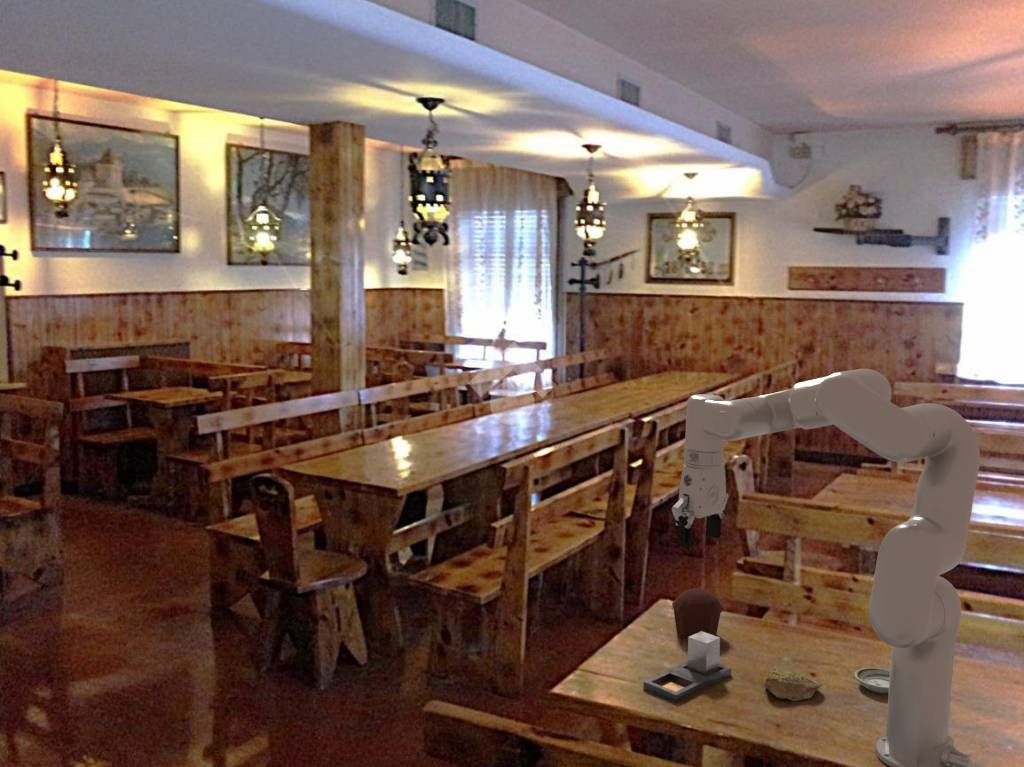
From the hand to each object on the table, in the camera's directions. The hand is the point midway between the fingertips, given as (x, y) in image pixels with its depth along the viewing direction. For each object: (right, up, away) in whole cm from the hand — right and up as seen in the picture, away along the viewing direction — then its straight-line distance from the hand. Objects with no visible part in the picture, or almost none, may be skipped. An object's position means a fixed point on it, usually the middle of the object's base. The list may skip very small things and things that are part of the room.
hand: (698, 541), depth 191 cm
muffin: (+4, -25, +24) cm, 35 cm away
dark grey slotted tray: (-2, -28, -1) cm, 28 cm away
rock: (+17, -29, -4) cm, 34 cm away
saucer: (+35, -29, -3) cm, 46 cm away
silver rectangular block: (+1, -28, +3) cm, 28 cm away
